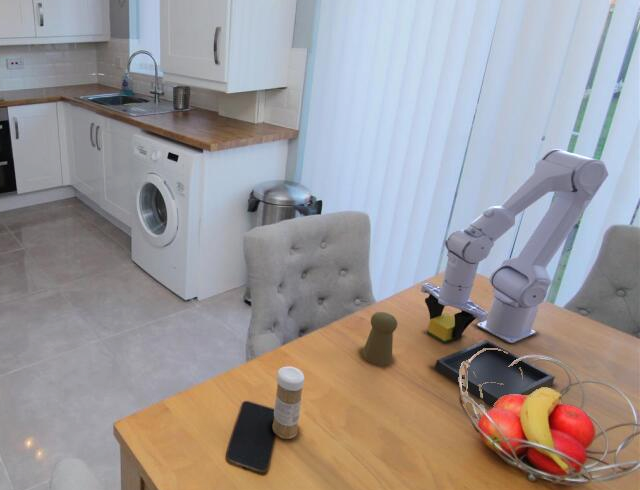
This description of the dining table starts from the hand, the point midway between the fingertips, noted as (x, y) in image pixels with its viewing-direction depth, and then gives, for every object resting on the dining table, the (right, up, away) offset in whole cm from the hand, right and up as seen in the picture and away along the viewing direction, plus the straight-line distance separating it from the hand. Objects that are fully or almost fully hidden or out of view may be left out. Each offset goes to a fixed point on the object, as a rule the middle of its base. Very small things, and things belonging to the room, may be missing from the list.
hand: (445, 330), depth 115 cm
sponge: (0, -1, 0) cm, 1 cm away
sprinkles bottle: (-47, -13, -25) cm, 54 cm away
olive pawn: (-20, -5, -6) cm, 21 cm away
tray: (+1, -7, -13) cm, 15 cm away
